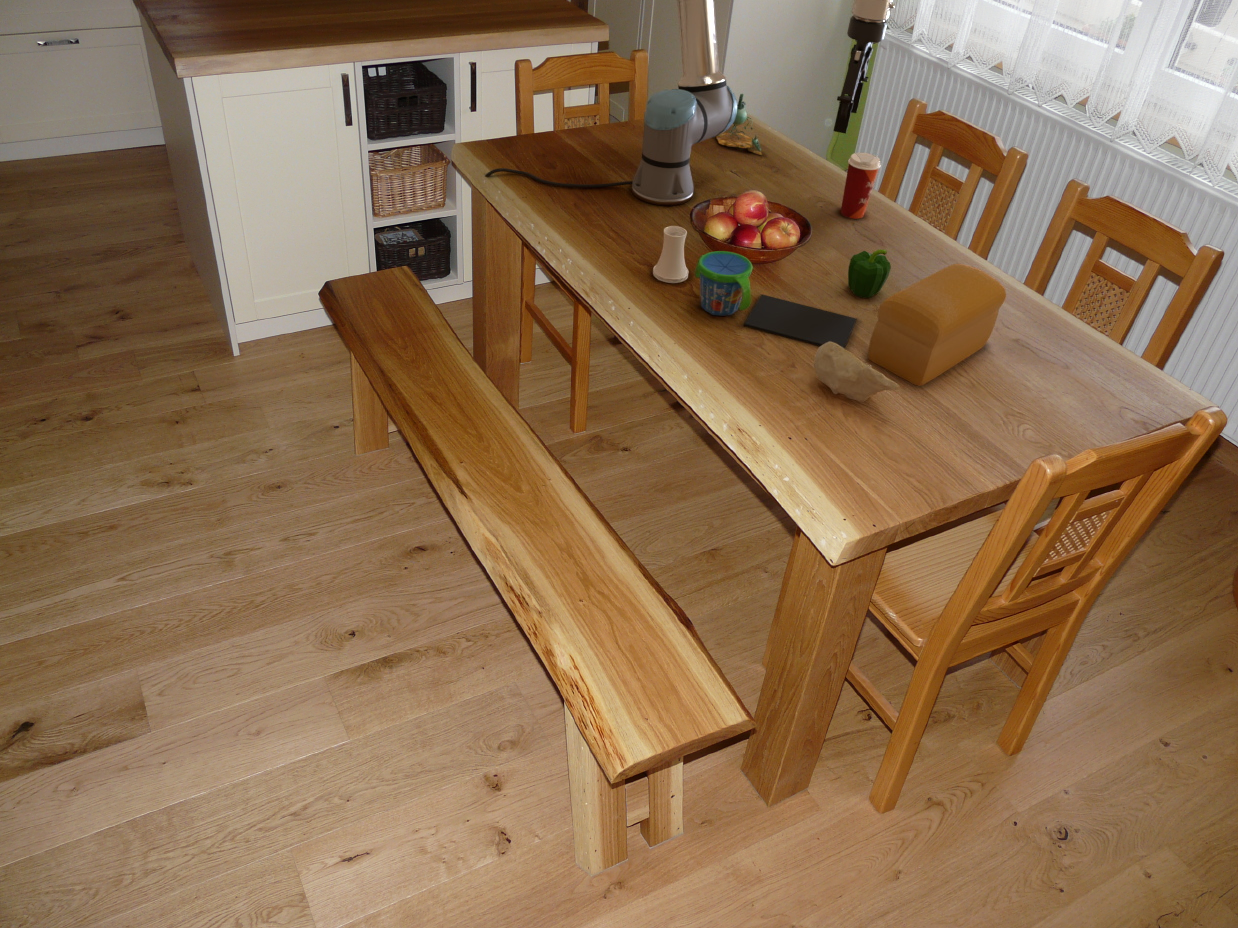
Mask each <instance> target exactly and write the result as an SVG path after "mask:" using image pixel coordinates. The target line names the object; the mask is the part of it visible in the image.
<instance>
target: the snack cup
mask: <svg viewBox="0 0 1238 928" xmlns="http://www.w3.org/2000/svg"><path fill="white" fill-rule="evenodd" d="M753 269H754V267H753V264H752V261H750V260H749V258H748V257H746V256H744V255H742V254H739V253H736V252H733V251H726V250H717V251H710V252H707V253H705V254H702V255H700V257H699V258H698V261H697V263H696V266H695V269H694V276H695V278H697V279H699V285H700V286H699V287H700V307H701V309H703V310H704V311H705V312H707V313H709V314H710V315H712V316H719V317H722V316H723V317H724V316H731V315H733V314H734V313H736V312H737V311H740V312H741V311H742V312H743V311H746V310H747V309H748V308H750V306H751V303H752V292H751V282H750V276H751V274H752V273H753Z"/></svg>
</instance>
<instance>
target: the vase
mask: <svg viewBox="0 0 1238 928" xmlns="http://www.w3.org/2000/svg"><path fill="white" fill-rule="evenodd" d="M687 234H688V231H687V230H686V229H685V228H684V227H682V226H678V225H669V226H667V227H664V228H663V243H662V249H661V253H660V256H659V258H658V260H657V263H656V264H655V265H654V266H653V269H652V275H653V277H654V278H655V279H657V281H660V282H663V283H669V284H679V283H682V282H685V281H687V279H688V278H689V271H690V270H689V268H688V267H687V265H686V260H685V242H686V238H687Z"/></svg>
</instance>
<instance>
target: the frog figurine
mask: <svg viewBox="0 0 1238 928" xmlns="http://www.w3.org/2000/svg"><path fill="white" fill-rule="evenodd" d="M744 96H745V95H744V93H740V95H739V98H738V101H737V114H736V117H735V120H734V122H733V124H732V125H733V126H732V128H731V130H728V132H729V133H728V132H723V133H721V134H720V135H718V136H716V137H715V139H716V140H717V142H718V144H720V145H721V146H726V147H729V148H731V147H732V148H741V149H747V150H748V152H751V153H753V154H756V155H758V156H762V155H763V153H762V147H761V144H760V142H759V139H758V135H757V134H755V137H749V136H748V135H746V133H745V132H744V131H743V130H741V131H738V130H737V127H739V126H741V125H743V124H744V123H745V122H746V121H747V124H746V126H744V130H747V127H748V126H749V124H750V123H751V124H753V119H752V118H751V117H749V116H748V112H747V109H745V106H746V102H745V101H743V100H744ZM750 120H751V122H750ZM753 129H754V128H753V126H751V127H750V130H751V131H753ZM735 131H736V132H735Z"/></svg>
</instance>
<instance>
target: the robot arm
mask: <svg viewBox="0 0 1238 928" xmlns="http://www.w3.org/2000/svg"><path fill="white" fill-rule="evenodd" d="M893 1H894V0H853V3H852V8H851V14H852V16H851V17H850V19H849V22H848V27H847V33H846V34H847V36H848V37H849V38H850V39H851V40H855V41H856V44H853V47H851V51H850V57H849V61H848V65H847V71H846V75H845V79H844V83H843V85H842V90H841V93H840V95H839V96H837V98H836V101H839V105H838V109H837V113H836V118H835V121H834V126H833V132H836V133H840V134H844V135H845V134H847V132H848V128H849V123H850V120H851V116H852V114H857V113H858V110H859V105H860V100H861V96H862V93H863V88H864V84H865V83H868V81H869V76H868V68H869V62H870V60H871V56H872V54H873V51H874V47H873V44H878V43H881V42H882V41H884V39H885V35H886V32H887V26H888V22H887V20H888V19H889V18H890V13H891V10H892V9H895V8H896V7H895V5H896V4H895V3H894V2H893ZM715 3H716V2H715V0H676V4H677V5H676V6H677V15H678V24H679V25H678V27H679V37H680V38H679V39H680V51H681V59H682V60H681V61H682V62H681V63H682V72H683V74H682V77H681V78H680V80H679V81H678V83H677V88H671V89H662V90H658V91H656V92H654V93H652V94H651V96H650V97H649V98H648V99H647V101H646V104H645V111H644V113H643V114H644V115H643V120H644V121H643V134H642V135H643V136H642V137H643V138H642V146H641V147H642V148H641V159H640V162H639V164H638V167H637V168H636V172H635V173H634V176H633V178H632V180H628V181H618V182H617V181H616V182H609V183H594V184H593V183H592V184H590V183H589V184H584V183H583V184H581V183H579V184H578V183H563V182H555V181H551V180H546V179H542V178H540V177H538V176H536V175H534V174H532V173H530V172H527V171H523V170H518V169H517V170H515V169H511V168H505V167H503V168H502V167H498V168H494V169H491V170H490V171H488V172H487V173H486V174H485V175H484V177H485V178H489V177H490V176H492V175H493V174H496V173H503V172H504V173H510V174H511V173H512V174H518V175H523V176H526V177H528V178H531V179H532V180H535V181H537V182H538V183H542V184H545V185H549V186H554V187H555V186H556V187H563V188H581V189H586V188H587V189H595V188H609V187H610V188H611V187H612V188H613V187H617V186H619V187H620V186H628V185H629V186H630V185H631V193H632V195H633V196H634V197H635V198H637V199H638V200H640V201H643V202H645V203H647V204H652V205H657V206H678V205H683V204H686V203H688V202H689V201H691V200H692V199H693V197H694V191H695V190H694V189H695V187H694V182H693V177H692V172H691V166H690V161H691V153H692V146H694V145H696V144H699V143H702V142H705V141H707V140H709V139H714V138H717V137H716V136H718V135H720V134H721V133H723V132H724V133H726V131H728V130H729V129H730V128H731V127H732V125H734V124H733V122H734V120H735V117H736V114H737V105H738V100H737V97H736V94H735V92H733V91H732V88H731V87H730V86H729V85H727V76H726V75H724V74H723V73H722V72H721V71H720V65H719V51H718V49H719V48H718V36H717V34H718V33H717V22H716V19H717V18H716V4H715Z"/></svg>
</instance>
